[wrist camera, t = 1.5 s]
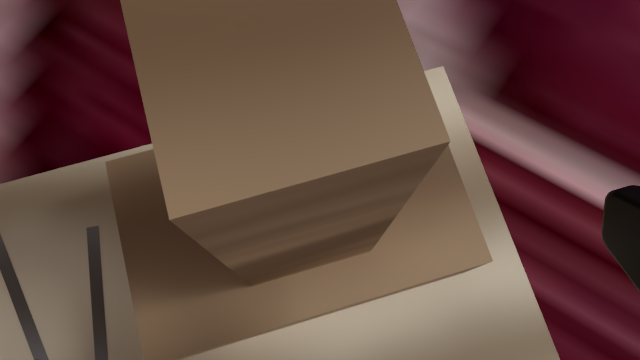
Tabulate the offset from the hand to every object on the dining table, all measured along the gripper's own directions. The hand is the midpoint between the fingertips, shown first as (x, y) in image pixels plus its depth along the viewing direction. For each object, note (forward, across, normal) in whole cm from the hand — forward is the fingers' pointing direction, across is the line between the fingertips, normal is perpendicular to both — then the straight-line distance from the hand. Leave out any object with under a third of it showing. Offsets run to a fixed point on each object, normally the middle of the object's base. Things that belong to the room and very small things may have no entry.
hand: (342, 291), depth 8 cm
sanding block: (+9, 0, +5) cm, 10 cm away
